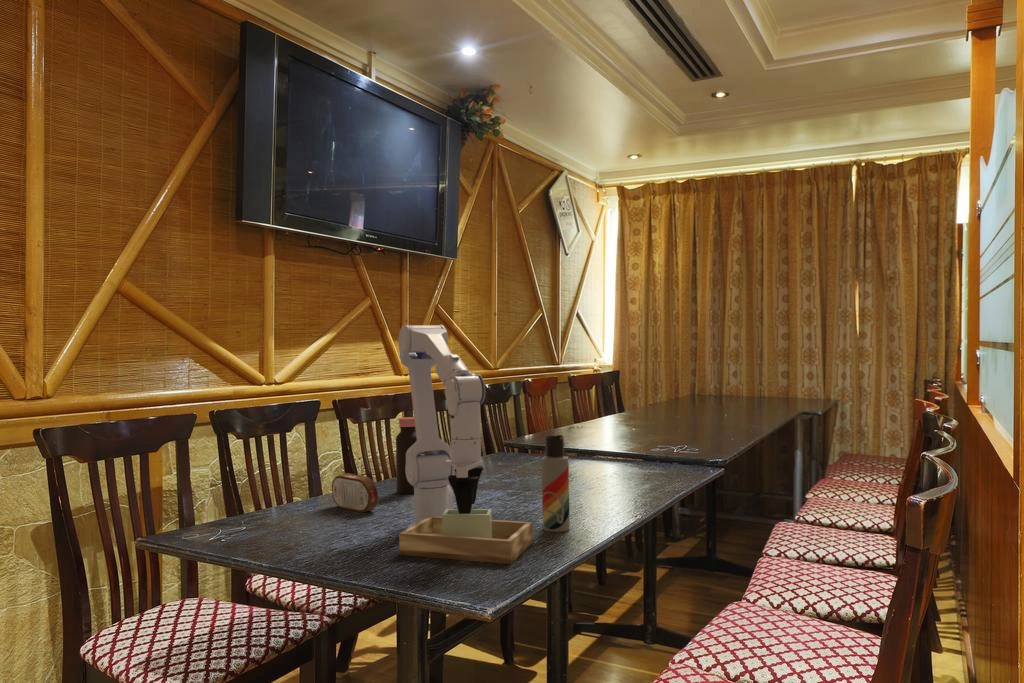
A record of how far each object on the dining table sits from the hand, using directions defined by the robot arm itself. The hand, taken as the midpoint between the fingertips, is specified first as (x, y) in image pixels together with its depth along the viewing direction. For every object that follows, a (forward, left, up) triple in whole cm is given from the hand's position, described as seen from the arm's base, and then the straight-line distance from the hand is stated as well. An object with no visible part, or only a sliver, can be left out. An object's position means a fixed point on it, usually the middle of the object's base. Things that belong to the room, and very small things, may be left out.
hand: (467, 508), depth 134 cm
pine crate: (0, 0, -8) cm, 8 cm away
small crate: (0, 0, -7) cm, 7 cm away
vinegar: (-46, -35, -8) cm, 58 cm away
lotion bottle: (-18, +13, -8) cm, 24 cm away
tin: (-24, -39, -8) cm, 46 cm away
